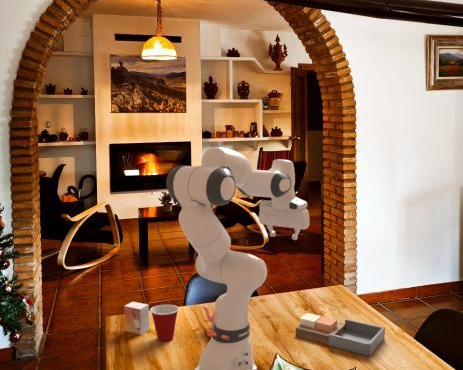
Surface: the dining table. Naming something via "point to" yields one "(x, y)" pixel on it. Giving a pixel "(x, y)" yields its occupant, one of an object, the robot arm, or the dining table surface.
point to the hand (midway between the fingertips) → (283, 237)
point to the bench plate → (319, 332)
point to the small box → (136, 318)
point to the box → (358, 338)
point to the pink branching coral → (210, 316)
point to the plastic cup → (164, 321)
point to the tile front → (326, 324)
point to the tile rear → (309, 320)
